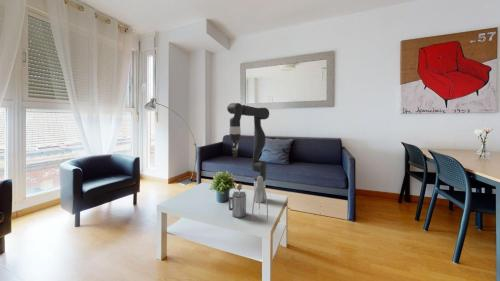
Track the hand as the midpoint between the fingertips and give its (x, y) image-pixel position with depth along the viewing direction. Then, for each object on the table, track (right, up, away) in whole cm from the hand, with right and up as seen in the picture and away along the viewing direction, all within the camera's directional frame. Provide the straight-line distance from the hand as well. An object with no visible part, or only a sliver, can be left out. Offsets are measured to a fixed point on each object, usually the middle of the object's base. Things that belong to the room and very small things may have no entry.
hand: (235, 156), depth 140 cm
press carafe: (+2, -41, +3) cm, 41 cm away
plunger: (+3, -37, +2) cm, 37 cm away
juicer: (+17, -42, -1) cm, 45 cm away
